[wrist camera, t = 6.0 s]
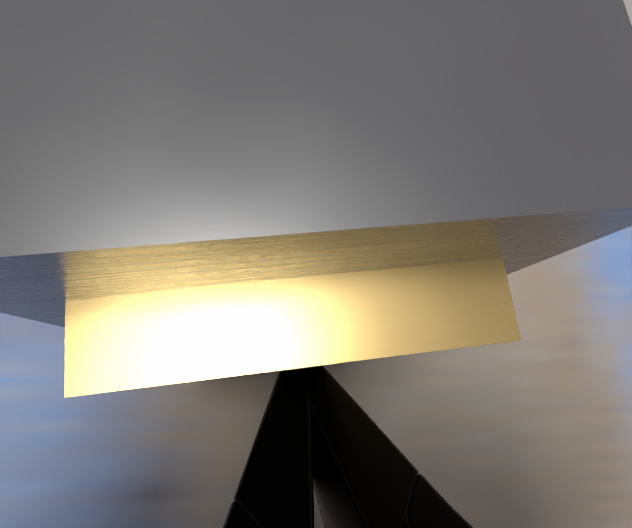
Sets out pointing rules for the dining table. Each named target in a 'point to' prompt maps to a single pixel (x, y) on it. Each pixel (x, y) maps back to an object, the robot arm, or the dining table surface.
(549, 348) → the dining table surface
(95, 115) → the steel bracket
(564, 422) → the dining table surface
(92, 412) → the dining table surface
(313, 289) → the brass pin
